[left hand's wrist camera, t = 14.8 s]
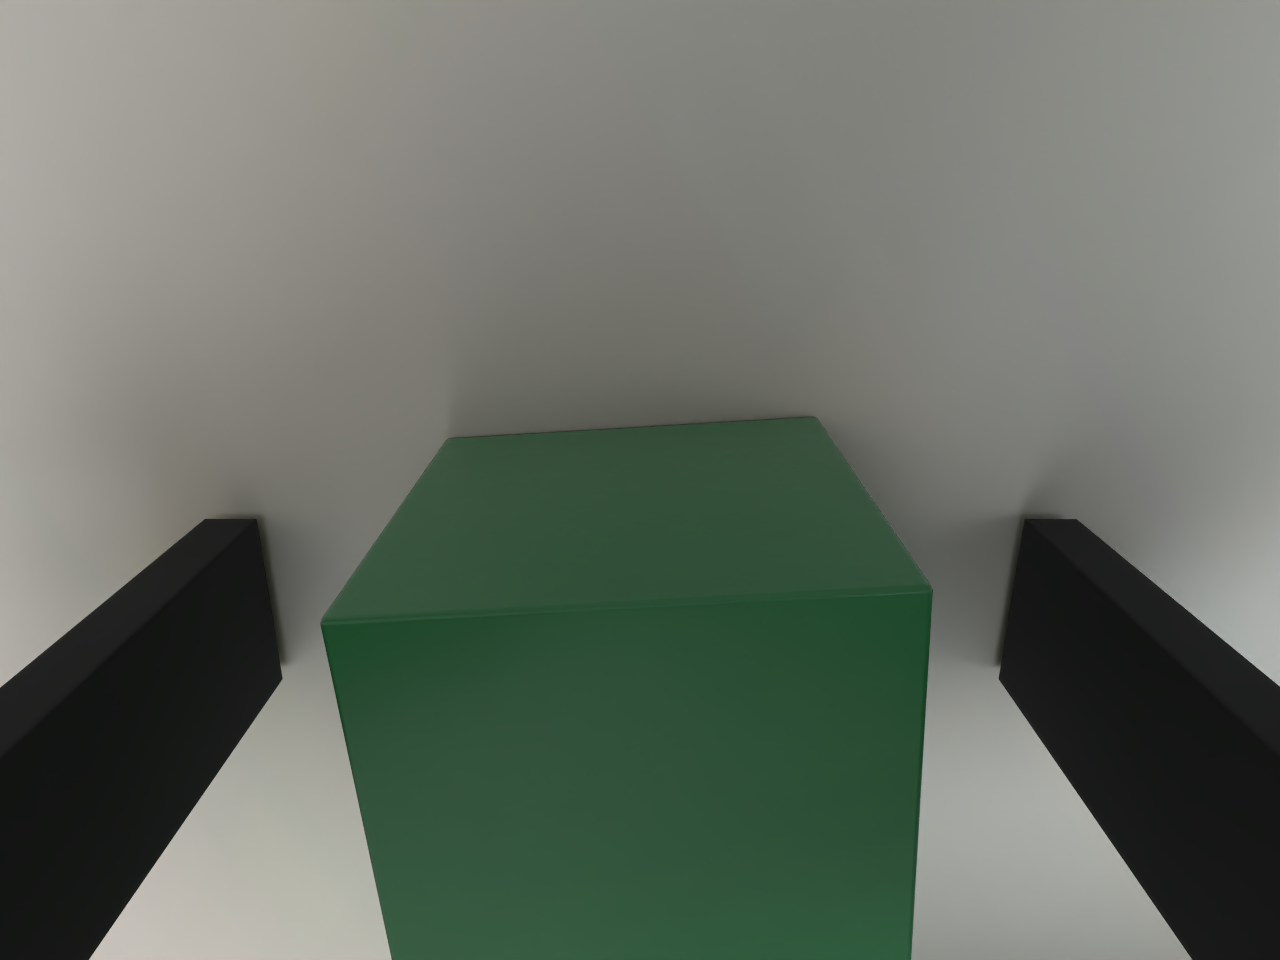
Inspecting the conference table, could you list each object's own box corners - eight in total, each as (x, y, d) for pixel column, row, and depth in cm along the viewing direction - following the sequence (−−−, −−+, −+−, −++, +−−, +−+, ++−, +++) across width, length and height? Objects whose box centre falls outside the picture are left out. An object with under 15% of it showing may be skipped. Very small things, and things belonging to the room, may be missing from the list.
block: (490, 746, 14) (409, 1057, 9) (445, 437, 13) (317, 621, 8) (814, 728, 14) (907, 1035, 9) (817, 415, 12) (934, 585, 7)
